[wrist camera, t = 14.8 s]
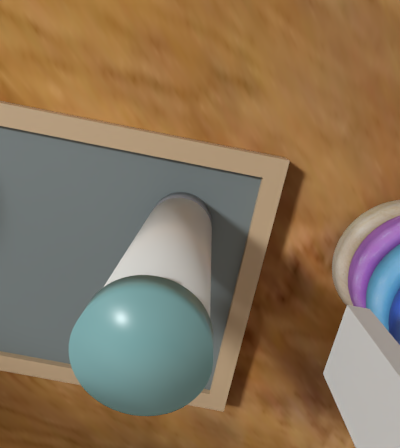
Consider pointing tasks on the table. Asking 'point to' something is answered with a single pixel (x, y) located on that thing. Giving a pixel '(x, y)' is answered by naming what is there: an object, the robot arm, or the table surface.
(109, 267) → the board
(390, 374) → the robot arm
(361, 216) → the stacking toy
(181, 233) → the teal and white cylinder
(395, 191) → the table surface
